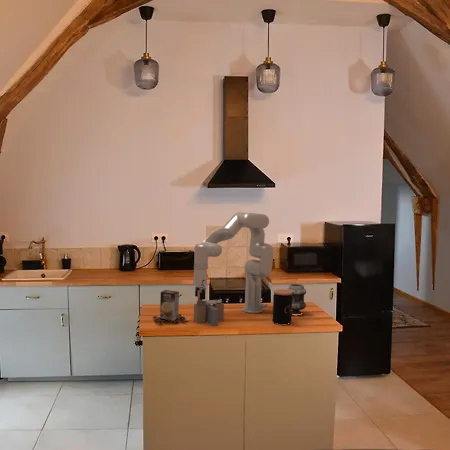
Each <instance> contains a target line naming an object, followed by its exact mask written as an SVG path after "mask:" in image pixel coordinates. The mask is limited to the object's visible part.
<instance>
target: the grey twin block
mask: <svg viewBox="0 0 450 450" xmlns="http://www.w3.org/2000/svg"><path fill="white" fill-rule="evenodd" d="M224 310H225V303H223V302H221V304H206V300H202V301H198V300H196V303H194V305H193V322H194V323H196V324H203V323H205V324H206V322H207V323H208V324H209V325H210V326H212V327H217V326H219V324H218V322H224V319H225V316H224V314H225V313H224V312H225V311H224Z"/></svg>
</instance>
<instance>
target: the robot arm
mask: <svg viewBox="0 0 450 450" xmlns="http://www.w3.org/2000/svg"><path fill="white" fill-rule="evenodd" d="M269 224H270V219H269V216H267V214H264V213H257V212H256V213H255V212H241V211H239V212H236V213H234V214H233V215H232V216H231V217H230V219H229V220H227V222H226V223H225V224H224V225H223V226H222V227H221V228H218V229H217V230H215V231H213V232H211V233H210V234H208V235H207V236H206V237H205V238H204V239H203V240H202V241H201V243H196V244H195V245H194V260H193V261H194V262H193V263H194V264H193V269H194V272H193V283H192V284H193V286H194V290H195V291H194V295H195V296H194V297H197V298H198V290H199V289H200V300H202V301H206V291H207V287H208V286H207V284H208V271H207V270H208V269H209V265H208V264H209V258H216V257H217V258H218V257H219V256H221V254H222V253H223V248H222V245H220V244H218V243H220V242H221V243H222V242H224V241H227V240H228V241H229V240H231V239H233V238H234V237H235V236H236V234H238V233H239V232H240V230H241V229H242V228H246V229H249V231H250V232H249V233H250V240H249V247H248V248H249V249H248V252H249V255H250V256H251V257H253V258H256V259H253V258H252V259H248V260H247V261H246V262H245V264H244V274H245V291H244V292H245V293H244V295H245V296H244V307H242V308H241V310H242V312H244V313H248V314H261V313H263V312H264V311H263V309H264V308H268V304H267V303H266V304H265V303H262V302H261V300H262V299H261V298H262V279H261V278H268V277H270V275H271V274H272V269H273V261H274V253H275V251H274V248H273V246H272V245H271V244H270V243H265V238H266V237H265V236H266V234H265V229H266V228H267V227H268V226H269ZM259 259H260V260H259ZM260 312H261V313H260Z"/></svg>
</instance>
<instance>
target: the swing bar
mask: <svg viewBox="0 0 450 450" xmlns="http://www.w3.org/2000/svg"><path fill="white" fill-rule="evenodd" d="M197 301H203V300H200V289H199V290H198V297H197ZM205 301H206V304H211V305H213V304H221V303H223V301H222V299H212V300H210V299H207V300H206V299H205Z"/></svg>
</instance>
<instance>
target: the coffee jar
mask: <svg viewBox="0 0 450 450" xmlns="http://www.w3.org/2000/svg"><path fill="white" fill-rule="evenodd" d="M272 296H273V299H272V300H273V301H272V320H271V321H272V323H273V322H274V324H275V323H278V324H288V323H290V324H291V322H292V317H293V316H292V291H289V290H287V289H274V290H273V295H272Z"/></svg>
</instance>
